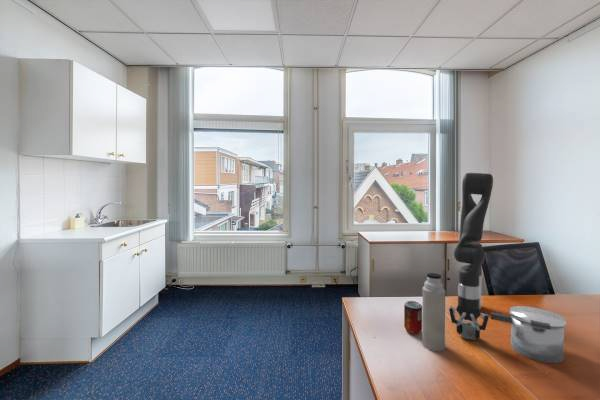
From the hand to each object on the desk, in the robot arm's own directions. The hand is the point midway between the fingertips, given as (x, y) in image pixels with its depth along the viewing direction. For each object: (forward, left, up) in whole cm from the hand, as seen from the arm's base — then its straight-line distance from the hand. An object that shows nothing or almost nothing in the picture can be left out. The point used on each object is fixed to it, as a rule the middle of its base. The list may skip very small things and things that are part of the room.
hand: (468, 335), depth 114 cm
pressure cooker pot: (+18, +5, -1) cm, 19 cm away
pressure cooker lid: (+22, +3, +11) cm, 25 cm away
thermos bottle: (-11, -13, -1) cm, 17 cm away
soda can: (-20, -6, -1) cm, 21 cm away
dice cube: (0, +1, -1) cm, 1 cm away
